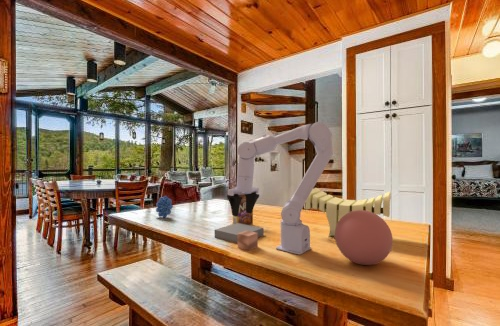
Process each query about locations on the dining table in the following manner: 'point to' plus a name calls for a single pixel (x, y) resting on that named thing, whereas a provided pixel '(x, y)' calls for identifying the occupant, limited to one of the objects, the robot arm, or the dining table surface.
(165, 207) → the grapes
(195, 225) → the dining table surface
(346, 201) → the slatted curved stool
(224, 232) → the charcoal plinth
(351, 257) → the matte pink egg
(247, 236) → the terracotta block
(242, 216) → the candy box
